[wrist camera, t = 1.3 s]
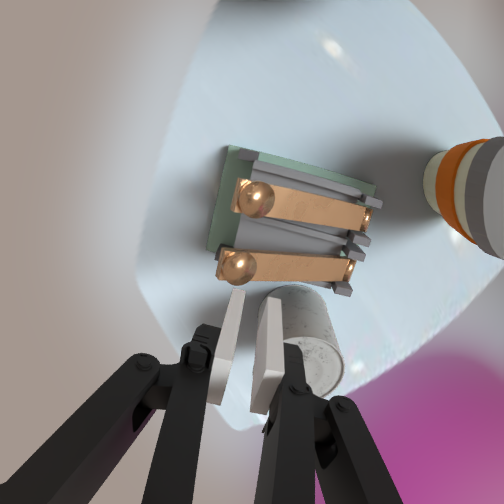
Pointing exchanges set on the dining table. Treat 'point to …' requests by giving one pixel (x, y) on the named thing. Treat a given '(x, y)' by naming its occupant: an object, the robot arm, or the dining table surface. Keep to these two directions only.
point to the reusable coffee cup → (470, 191)
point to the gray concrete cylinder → (310, 336)
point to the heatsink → (282, 230)
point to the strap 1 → (297, 206)
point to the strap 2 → (281, 266)
